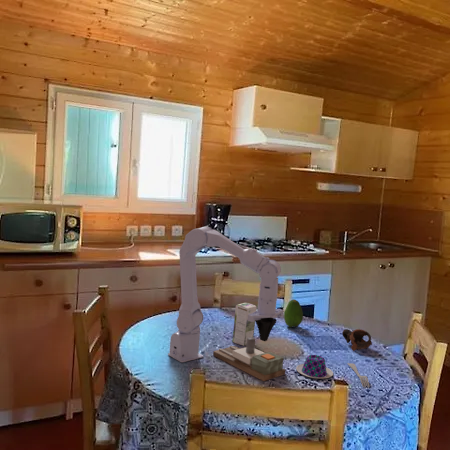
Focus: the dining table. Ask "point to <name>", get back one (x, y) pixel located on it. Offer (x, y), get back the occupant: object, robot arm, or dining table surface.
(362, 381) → the fork
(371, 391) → the dining table surface
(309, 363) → the checkered hat
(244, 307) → the syrup box
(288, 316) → the avocado
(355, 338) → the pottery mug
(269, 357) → the button
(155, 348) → the dining table surface
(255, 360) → the wooden base with block
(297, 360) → the dining table surface
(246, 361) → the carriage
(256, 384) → the dining table surface
